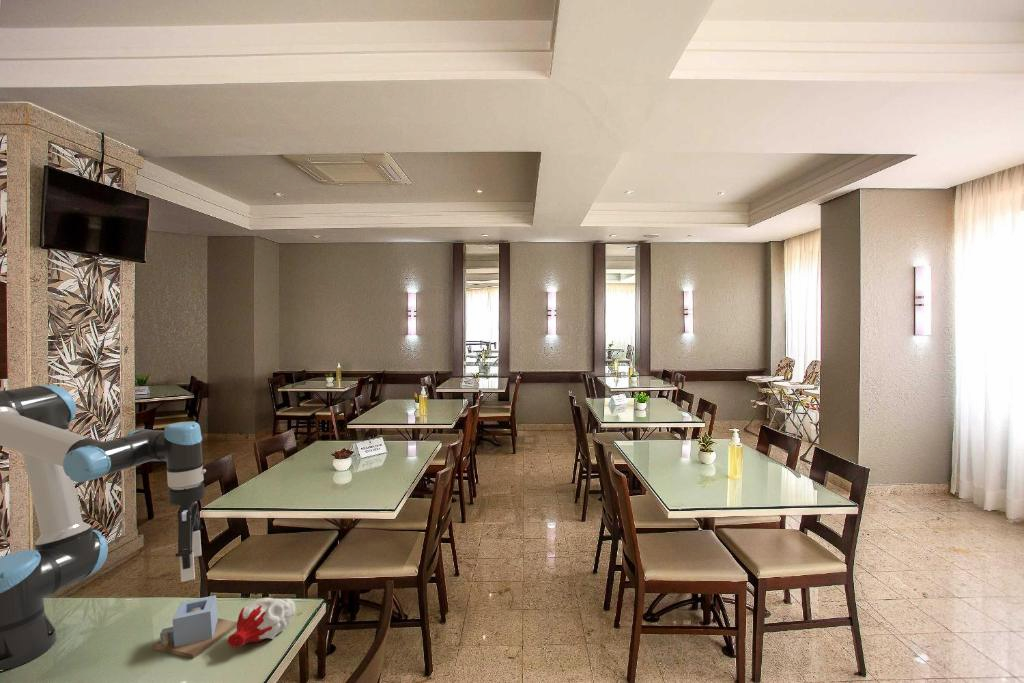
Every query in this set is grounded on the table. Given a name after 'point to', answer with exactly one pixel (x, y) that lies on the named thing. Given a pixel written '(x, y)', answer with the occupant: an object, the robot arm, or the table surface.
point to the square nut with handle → (193, 622)
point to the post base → (198, 647)
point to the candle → (262, 620)
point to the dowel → (165, 639)
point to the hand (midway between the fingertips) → (191, 567)
